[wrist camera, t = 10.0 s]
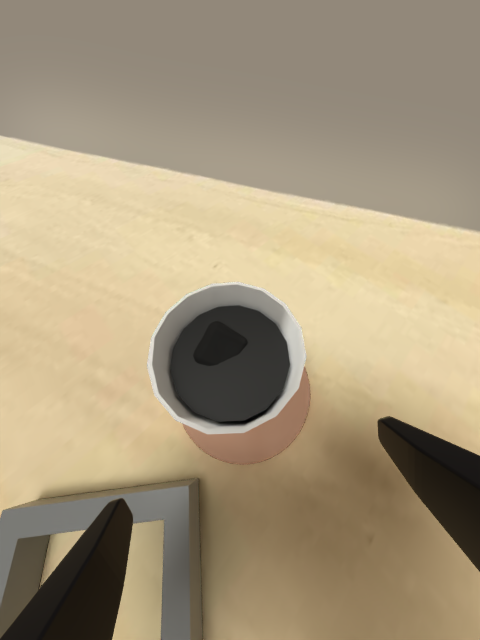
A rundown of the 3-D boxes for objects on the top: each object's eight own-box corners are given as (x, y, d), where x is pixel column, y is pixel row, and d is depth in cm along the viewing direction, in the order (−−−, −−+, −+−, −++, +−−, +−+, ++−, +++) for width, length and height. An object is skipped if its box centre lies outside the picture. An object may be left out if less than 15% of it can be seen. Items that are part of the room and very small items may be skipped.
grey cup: (185, 402, 18) (113, 373, 9) (229, 336, 20) (207, 262, 11) (256, 452, 16) (253, 480, 7) (296, 373, 18) (332, 319, 9)
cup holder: (198, 478, 16) (188, 485, 14) (206, 779, 11) (192, 870, 8) (37, 499, 16) (2, 510, 14) (-36, 806, 11) (-112, 904, 9)
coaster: (291, 320, 21) (292, 317, 21) (325, 453, 16) (328, 453, 16) (179, 336, 21) (177, 334, 21) (178, 472, 16) (175, 474, 16)
